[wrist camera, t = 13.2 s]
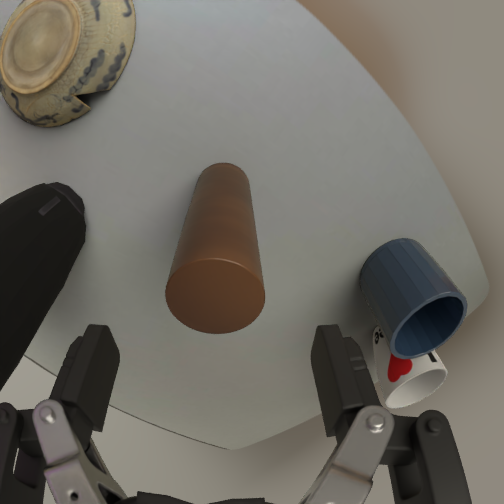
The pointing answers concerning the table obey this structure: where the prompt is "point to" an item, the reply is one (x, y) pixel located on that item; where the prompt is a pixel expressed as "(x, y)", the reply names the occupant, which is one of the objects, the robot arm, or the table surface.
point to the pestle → (217, 256)
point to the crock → (411, 298)
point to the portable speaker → (34, 262)
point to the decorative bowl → (63, 55)
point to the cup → (406, 374)
